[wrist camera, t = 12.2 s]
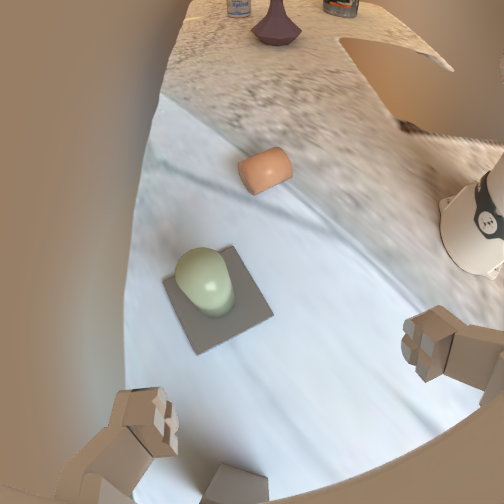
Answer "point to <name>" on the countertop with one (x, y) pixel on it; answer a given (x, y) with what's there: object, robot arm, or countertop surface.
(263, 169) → the tan rounded cylinder
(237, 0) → the supplement tub
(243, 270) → the plate
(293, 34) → the flask
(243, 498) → the perfume bottle
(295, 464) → the countertop surface
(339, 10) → the supplement tub
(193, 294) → the pale green rounded cylinder
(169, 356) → the countertop surface
